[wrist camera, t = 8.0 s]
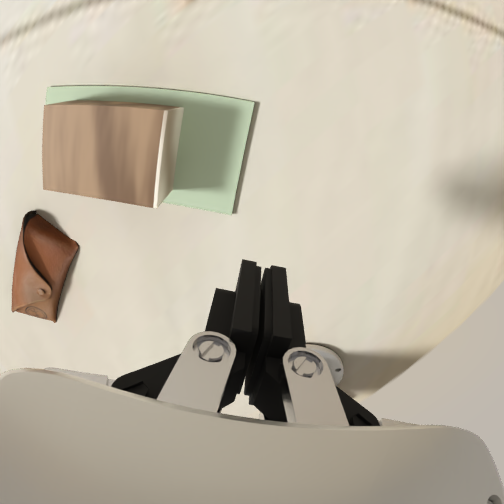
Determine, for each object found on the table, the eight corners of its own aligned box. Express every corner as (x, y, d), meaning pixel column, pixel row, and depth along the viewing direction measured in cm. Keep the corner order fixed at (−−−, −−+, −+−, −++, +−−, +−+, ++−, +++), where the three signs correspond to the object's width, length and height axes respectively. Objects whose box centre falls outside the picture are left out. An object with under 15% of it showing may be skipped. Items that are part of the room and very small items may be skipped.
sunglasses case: (57, 327, 40) (23, 339, 34) (39, 293, 41) (6, 303, 36) (81, 242, 32) (33, 251, 26) (59, 206, 34) (16, 210, 28)
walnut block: (168, 110, 20) (44, 105, 20) (156, 208, 24) (43, 189, 23) (184, 107, 25) (73, 100, 24) (172, 189, 29) (70, 174, 28)
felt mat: (254, 102, 25) (254, 102, 24) (231, 213, 30) (231, 215, 30) (49, 86, 23) (47, 87, 23) (46, 182, 29) (44, 183, 28)
